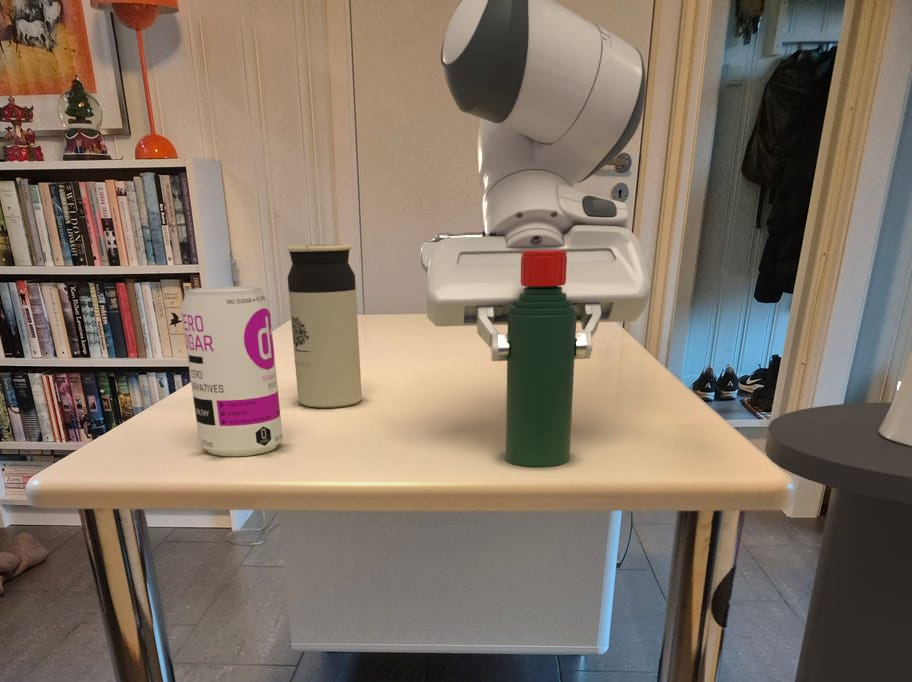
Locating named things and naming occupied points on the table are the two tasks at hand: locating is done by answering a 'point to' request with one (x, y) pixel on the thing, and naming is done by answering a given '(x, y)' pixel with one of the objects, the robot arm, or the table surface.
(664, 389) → the table surface
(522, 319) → the bottle
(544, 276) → the cap
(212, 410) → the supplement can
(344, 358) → the travel mug
